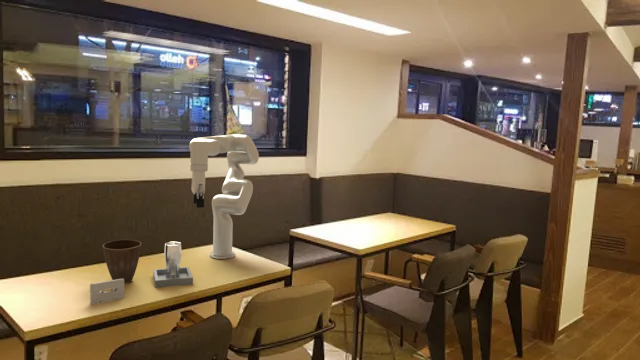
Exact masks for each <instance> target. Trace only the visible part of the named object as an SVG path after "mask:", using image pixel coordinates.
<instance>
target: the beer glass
mask: <svg viewBox="0 0 640 360" xmlns="http://www.w3.org/2000/svg"><path fill="white" fill-rule="evenodd" d="M181 260H182V242H180V241H168V242H165V243H164V262H165V263H164V264H165V269H166V277H165V278H166V279H170V278H180V273H179V268H180V266H181Z"/></svg>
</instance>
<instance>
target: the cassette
mask: <svg viewBox="0 0 640 360" xmlns="http://www.w3.org/2000/svg"><path fill="white" fill-rule="evenodd" d="M105 290H107V291H105ZM108 290H109V291H108ZM89 291H90V292H89V293H90V297H89V299H90V304H91V305H95V304H102V303H107V302H112V301H118V300H120V299H125V284H124V279H123V278H122V279H116V280H112V279H111V280H110V279H109V280H105V281H99V282H94V283H90V284H89Z"/></svg>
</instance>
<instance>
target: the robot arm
mask: <svg viewBox="0 0 640 360" xmlns="http://www.w3.org/2000/svg"><path fill="white" fill-rule="evenodd" d="M188 149H189V151H190V163H189V164H190V167H189V168H190V169H189V170H190V172H192V173H191V192H192V194H193V204H195V205H196V208H198V209H199V208H204V207H205V196H204V195H205V193H206V173H207V172H208V171H209V169H208V168H209V165H208V163H209V156H210V157H215V156H217V155H219V154H225V153H227V154H226V160H227V165H228V172H227V175H226V176H225V180H224V182H223V184H222V186H221V192H222V193H221V194H216V195H214V196H213V197H212V199H211V208H212V209H211V210H212V215H213V227H212V229H213V234H212V235H213V236H212V237H213V239H212V251H211V252H210V253H209V257H211V259H212V258H213V259H219V260H227V259H228V260H229V259H232V258H234V257H235V256H236V253H235V252H234V251H233V228H234V227H233V223H234V222H233V218H232V217H231V215H235V216H242V215H244V214H245V212H246V210H247V208H248V206H249V203H250V200H251V198H252V195H253V191H254V184H253V183H252V181H251V180H250V179H244V178H245V171H244V170H243V168H242V167H241V165H255V164H257V163H258V162H259V158H260V154H259V151H258V148H257V146H256V145H255V142H254V140H253V139H252V138H251V137H250V136H249V135H248V134H238V133H237V134H235V133H229V134H224V135H223V134H222V135H215V136H203V137H196V138H193V139H192V140H191V141H190V142H189V144H188Z"/></svg>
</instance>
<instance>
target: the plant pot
mask: <svg viewBox="0 0 640 360" xmlns="http://www.w3.org/2000/svg"><path fill="white" fill-rule="evenodd" d="M141 247H142V242H141V241H139V240H135V239H134V240H133V239H117V240H112V241H111V240H110V241H107V242H105V243H103V244H102V251H103V254H104V255H103V256H104V259H105V264H106V267H107V270H108V273H109V275H110V278H111V280H116V279H122V278H123V279H124V285H125V284H128V283H132V281H133V280H134V277H135V274H136V271H137V267H138V263H139V261H140V260H139V259H140V254H141V249H142V248H141Z"/></svg>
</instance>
